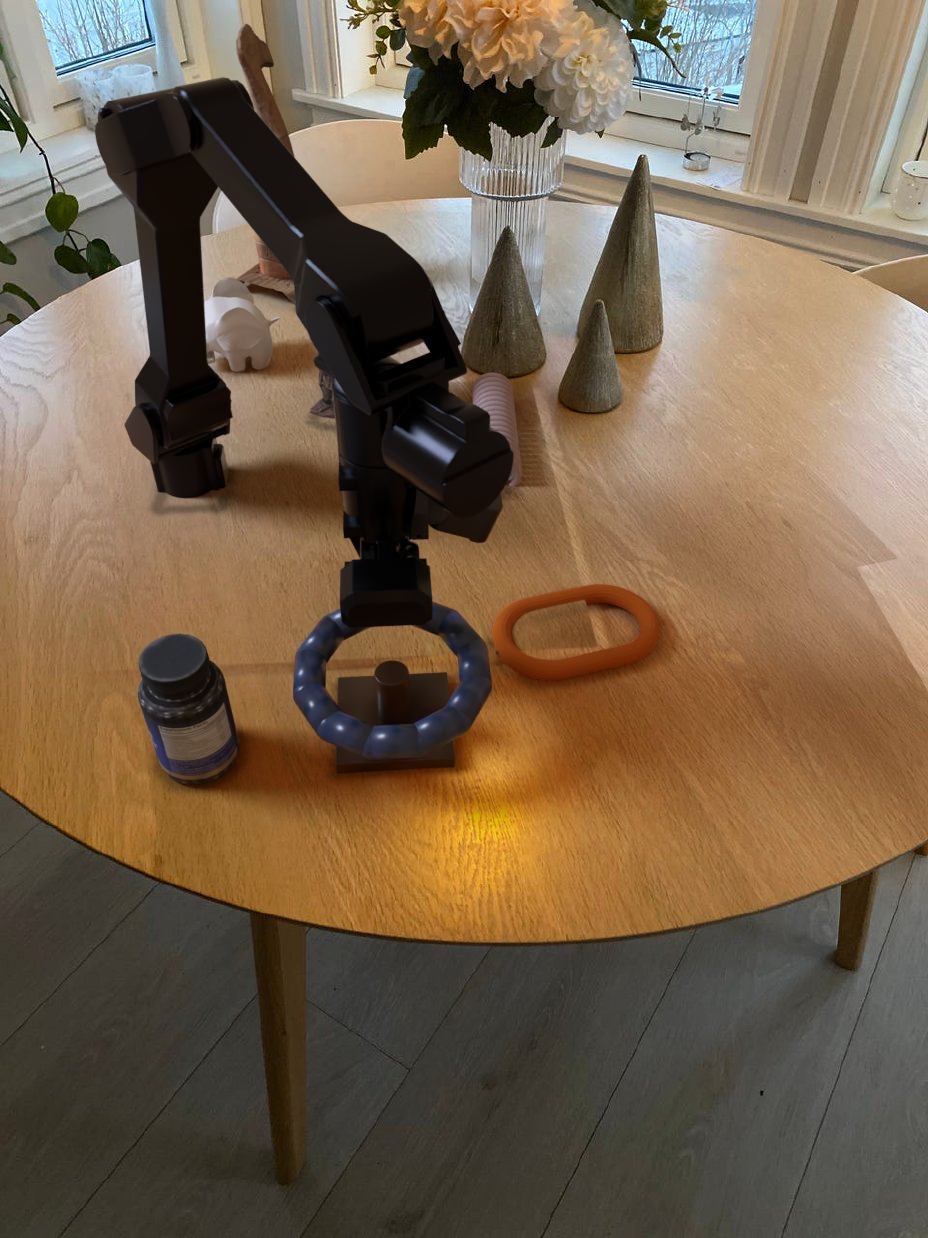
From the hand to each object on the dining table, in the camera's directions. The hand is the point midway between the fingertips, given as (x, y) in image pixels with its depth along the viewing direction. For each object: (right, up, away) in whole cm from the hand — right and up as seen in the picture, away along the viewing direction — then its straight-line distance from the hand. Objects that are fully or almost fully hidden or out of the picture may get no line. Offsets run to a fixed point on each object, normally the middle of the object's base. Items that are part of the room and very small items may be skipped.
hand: (389, 611), depth 76 cm
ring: (+1, -5, -4) cm, 6 cm away
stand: (0, -9, 0) cm, 9 cm away
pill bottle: (-14, -11, -2) cm, 18 cm away
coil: (+9, +18, +29) cm, 36 cm away
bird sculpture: (-19, +46, +58) cm, 76 cm away
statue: (-7, +23, +34) cm, 41 cm away
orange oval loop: (+16, -2, +8) cm, 18 cm away
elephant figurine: (-22, +31, +42) cm, 57 cm away
